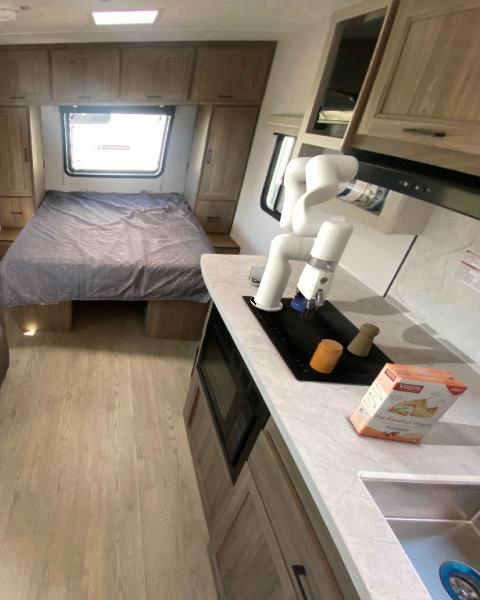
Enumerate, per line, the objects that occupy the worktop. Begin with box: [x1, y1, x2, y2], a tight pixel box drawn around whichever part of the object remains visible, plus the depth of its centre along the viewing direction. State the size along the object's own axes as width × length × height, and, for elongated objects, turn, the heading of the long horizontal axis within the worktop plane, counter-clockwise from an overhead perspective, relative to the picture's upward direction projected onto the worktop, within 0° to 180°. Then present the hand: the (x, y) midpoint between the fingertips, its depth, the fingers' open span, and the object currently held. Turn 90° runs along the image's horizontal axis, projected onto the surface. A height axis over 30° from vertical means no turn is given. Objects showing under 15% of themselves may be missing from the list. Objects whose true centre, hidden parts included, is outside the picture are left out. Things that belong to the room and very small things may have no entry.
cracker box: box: [348, 362, 468, 445], centre depth 83 cm, size 14×6×21 cm, turn 80°
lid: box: [290, 297, 315, 313], centre depth 106 cm, size 7×7×2 cm
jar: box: [309, 338, 344, 374], centre depth 107 cm, size 6×6×10 cm
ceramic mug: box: [248, 265, 266, 287], centre depth 161 cm, size 11×8×8 cm
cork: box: [346, 322, 381, 357], centre depth 115 cm, size 6×6×11 cm
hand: (301, 311), depth 108 cm, fingers closed on lid, 7 cm apart
